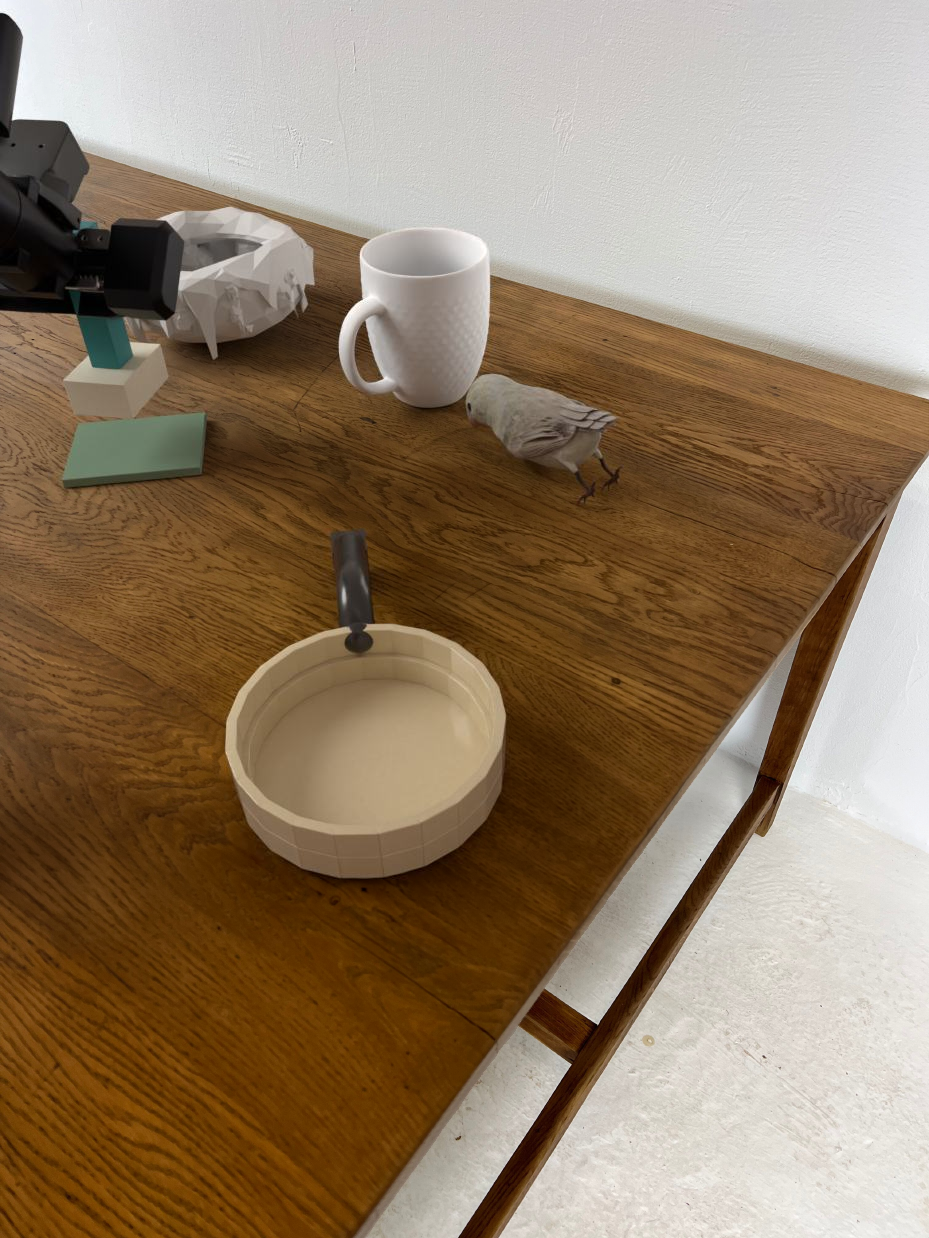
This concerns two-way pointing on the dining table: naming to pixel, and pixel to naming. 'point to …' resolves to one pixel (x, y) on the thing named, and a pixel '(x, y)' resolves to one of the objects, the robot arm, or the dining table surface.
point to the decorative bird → (540, 424)
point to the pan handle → (353, 587)
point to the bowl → (232, 277)
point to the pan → (367, 751)
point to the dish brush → (112, 366)
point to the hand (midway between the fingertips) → (108, 309)
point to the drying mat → (136, 450)
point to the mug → (421, 314)
